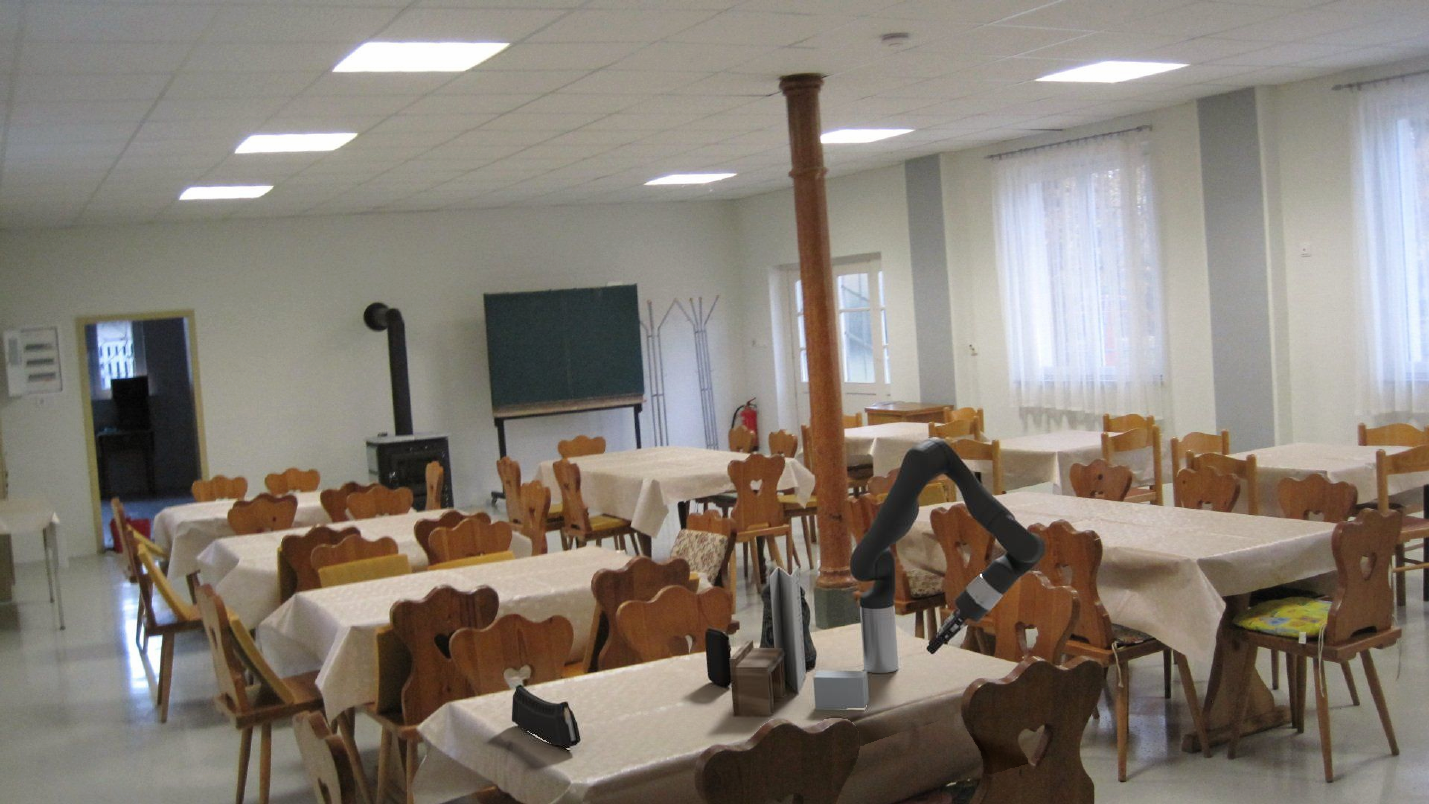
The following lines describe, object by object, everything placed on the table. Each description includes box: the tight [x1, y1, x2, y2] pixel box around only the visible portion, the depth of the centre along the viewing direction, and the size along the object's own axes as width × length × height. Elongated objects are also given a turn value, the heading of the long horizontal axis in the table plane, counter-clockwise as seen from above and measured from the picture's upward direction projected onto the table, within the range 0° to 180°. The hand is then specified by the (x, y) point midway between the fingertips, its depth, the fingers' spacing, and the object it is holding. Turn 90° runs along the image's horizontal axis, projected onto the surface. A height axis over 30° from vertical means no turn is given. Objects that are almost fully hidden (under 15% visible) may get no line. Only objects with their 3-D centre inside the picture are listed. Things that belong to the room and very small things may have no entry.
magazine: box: [511, 684, 581, 749], centre depth 289 cm, size 17×3×30 cm
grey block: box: [812, 670, 870, 711], centre depth 297 cm, size 6×12×8 cm, turn 73°
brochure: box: [769, 565, 807, 695], centre depth 318 cm, size 14×6×30 cm, turn 168°
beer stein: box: [758, 583, 818, 671], centre depth 337 cm, size 16×19×25 cm
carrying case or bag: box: [704, 627, 732, 688], centre depth 323 cm, size 11×3×15 cm, turn 33°
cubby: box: [729, 639, 786, 718], centre depth 303 cm, size 18×10×14 cm, turn 165°
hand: (930, 648), depth 291 cm, fingers open, 4 cm apart
